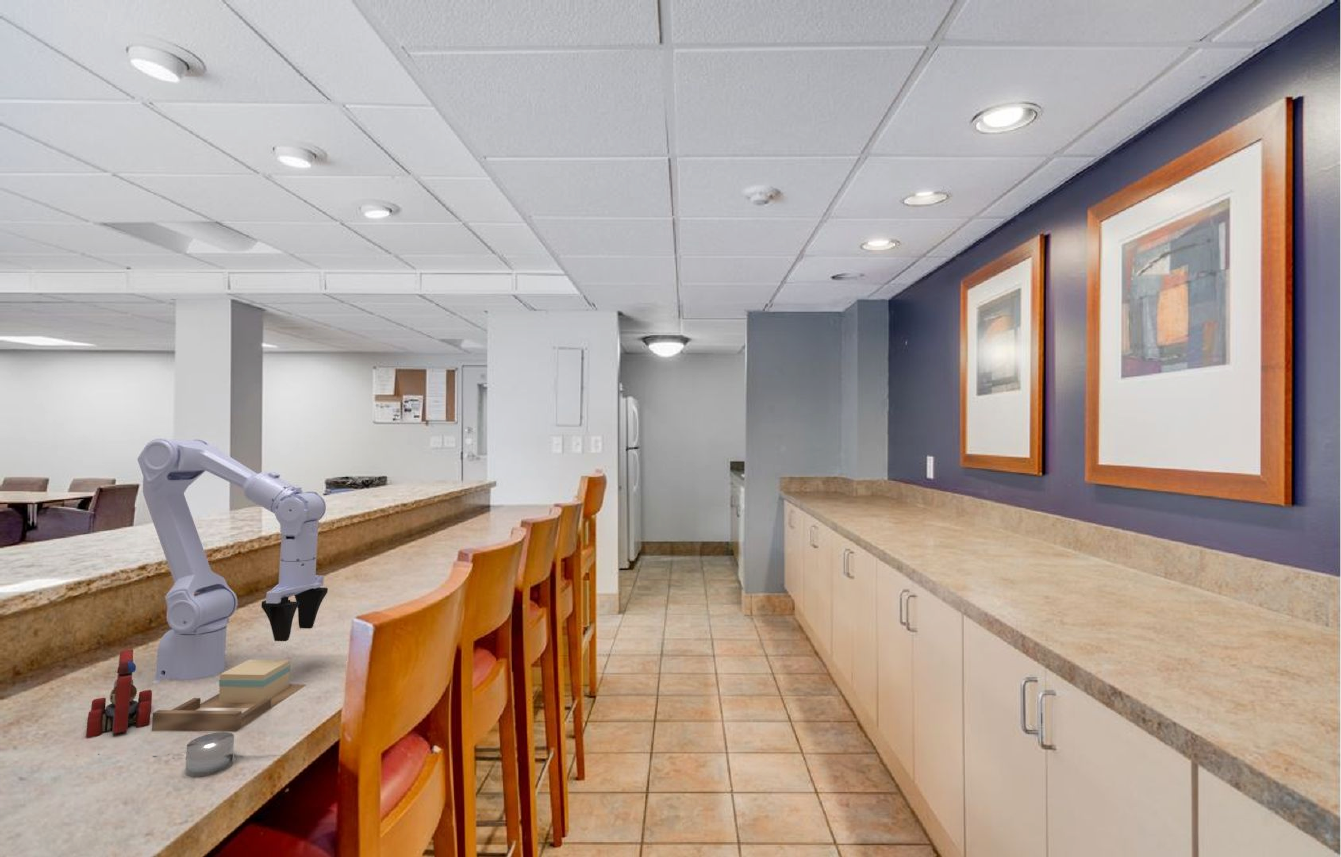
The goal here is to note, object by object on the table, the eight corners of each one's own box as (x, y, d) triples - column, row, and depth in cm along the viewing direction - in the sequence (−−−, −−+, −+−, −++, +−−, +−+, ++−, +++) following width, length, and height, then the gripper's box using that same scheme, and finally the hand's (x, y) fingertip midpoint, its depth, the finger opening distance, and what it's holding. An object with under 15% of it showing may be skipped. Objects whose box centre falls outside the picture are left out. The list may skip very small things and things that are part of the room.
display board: (151, 737, 88) (152, 712, 88) (236, 689, 106) (237, 669, 106) (235, 738, 88) (237, 713, 88) (306, 690, 106) (307, 669, 106)
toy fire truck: (83, 751, 83) (88, 674, 84) (91, 720, 93) (95, 651, 93) (149, 737, 88) (154, 664, 88) (151, 708, 97) (154, 643, 98)
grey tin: (175, 777, 77) (176, 749, 78) (204, 758, 82) (205, 732, 83) (215, 778, 78) (216, 750, 78) (241, 758, 83) (242, 732, 83)
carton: (218, 702, 98) (219, 674, 98) (247, 685, 105) (248, 659, 105) (262, 703, 98) (264, 674, 98) (289, 686, 105) (290, 660, 105)
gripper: (297, 566, 104) (292, 647, 103) (340, 553, 118) (337, 623, 118) (255, 565, 104) (250, 646, 103) (304, 552, 118) (300, 622, 117)
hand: (294, 634), depth 110 cm, fingers open, 7 cm apart
